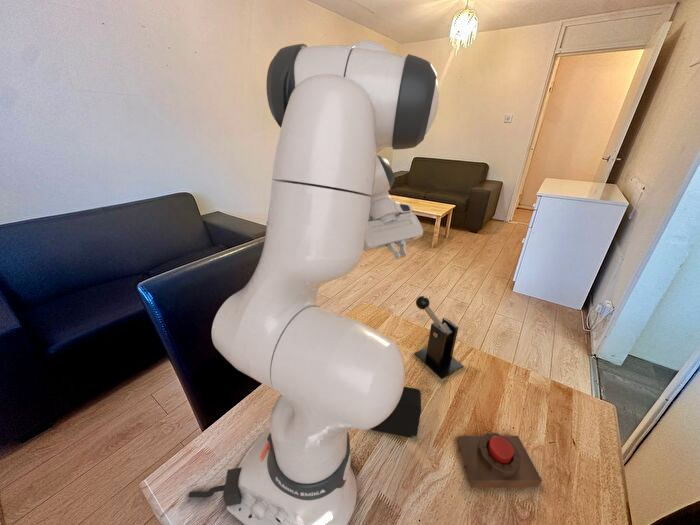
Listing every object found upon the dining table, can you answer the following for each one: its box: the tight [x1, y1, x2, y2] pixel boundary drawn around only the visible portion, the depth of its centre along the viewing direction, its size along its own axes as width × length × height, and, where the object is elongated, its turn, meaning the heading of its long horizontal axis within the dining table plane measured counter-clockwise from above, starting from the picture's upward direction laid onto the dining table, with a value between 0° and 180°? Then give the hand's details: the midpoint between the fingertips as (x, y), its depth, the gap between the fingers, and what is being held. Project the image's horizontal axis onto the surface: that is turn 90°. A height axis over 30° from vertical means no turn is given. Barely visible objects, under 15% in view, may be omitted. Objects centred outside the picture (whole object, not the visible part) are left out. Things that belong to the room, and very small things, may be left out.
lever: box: [415, 295, 452, 337], centre depth 74 cm, size 12×4×4 cm, turn 31°
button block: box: [457, 432, 543, 489], centre depth 53 cm, size 12×8×4 cm, turn 90°
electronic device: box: [369, 386, 422, 439], centre depth 59 cm, size 4×10×10 cm, turn 78°
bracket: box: [414, 317, 464, 380], centre depth 74 cm, size 10×8×13 cm
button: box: [488, 436, 514, 464], centre depth 52 cm, size 4×4×2 cm
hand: (402, 257), depth 80 cm, fingers closed
